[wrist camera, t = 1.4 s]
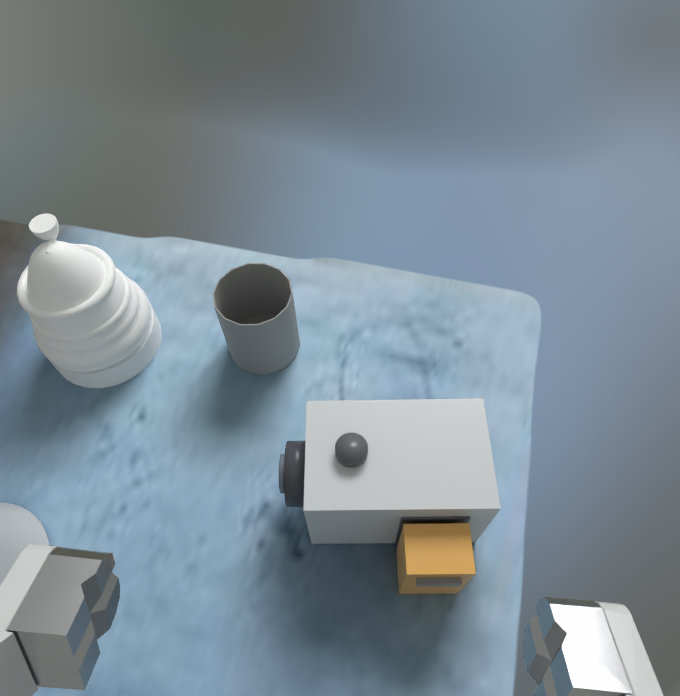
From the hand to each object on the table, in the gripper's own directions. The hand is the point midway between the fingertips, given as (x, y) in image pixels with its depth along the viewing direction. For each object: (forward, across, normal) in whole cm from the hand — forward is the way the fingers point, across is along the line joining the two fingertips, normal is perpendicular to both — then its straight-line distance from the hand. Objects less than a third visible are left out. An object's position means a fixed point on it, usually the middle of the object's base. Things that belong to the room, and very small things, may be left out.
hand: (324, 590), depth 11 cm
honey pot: (+50, -28, -30) cm, 65 cm away
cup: (+50, -9, -29) cm, 58 cm away
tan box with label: (+27, +10, -37) cm, 47 cm away
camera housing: (+34, +5, -34) cm, 48 cm away
